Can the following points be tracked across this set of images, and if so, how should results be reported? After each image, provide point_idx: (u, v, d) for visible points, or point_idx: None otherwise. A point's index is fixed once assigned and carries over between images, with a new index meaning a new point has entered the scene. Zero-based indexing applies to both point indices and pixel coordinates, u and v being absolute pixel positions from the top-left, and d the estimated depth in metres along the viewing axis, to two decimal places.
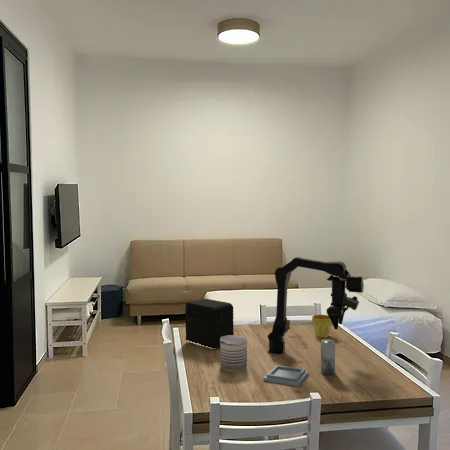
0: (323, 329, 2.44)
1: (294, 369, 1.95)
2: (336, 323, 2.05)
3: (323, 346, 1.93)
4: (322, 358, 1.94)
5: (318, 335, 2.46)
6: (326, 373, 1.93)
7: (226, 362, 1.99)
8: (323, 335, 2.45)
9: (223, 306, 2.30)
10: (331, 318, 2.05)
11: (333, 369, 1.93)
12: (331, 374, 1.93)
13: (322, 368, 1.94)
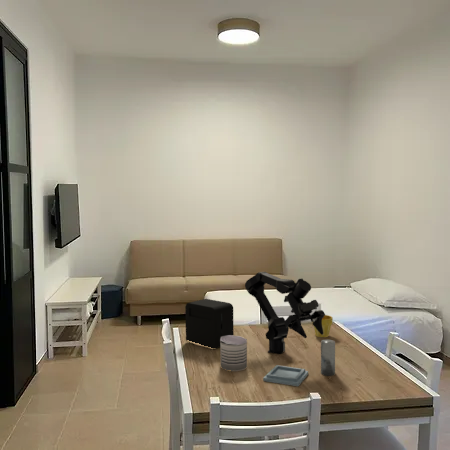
0: (323, 329, 2.44)
1: (294, 369, 1.95)
2: (301, 331, 1.99)
3: (323, 346, 1.93)
4: (322, 358, 1.94)
5: (318, 335, 2.46)
6: (326, 373, 1.93)
7: (226, 362, 1.99)
8: (323, 335, 2.45)
9: (223, 306, 2.30)
10: (295, 330, 2.02)
11: (333, 369, 1.93)
12: (331, 374, 1.93)
13: (322, 368, 1.94)
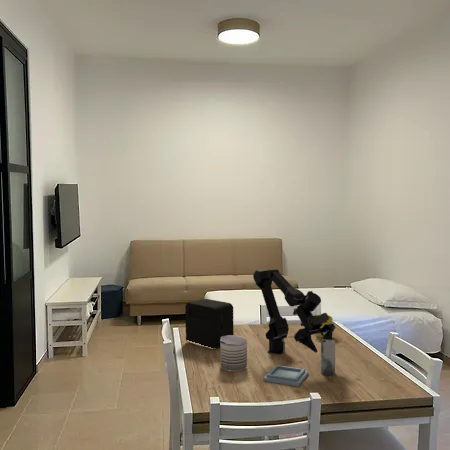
0: None
1: (294, 369, 1.95)
2: (311, 346, 1.94)
3: (323, 346, 1.93)
4: (322, 358, 1.94)
5: (318, 335, 2.46)
6: (326, 373, 1.93)
7: (226, 362, 1.99)
8: None
9: (223, 306, 2.30)
10: (305, 344, 1.96)
11: (333, 369, 1.93)
12: (331, 374, 1.93)
13: (322, 368, 1.94)
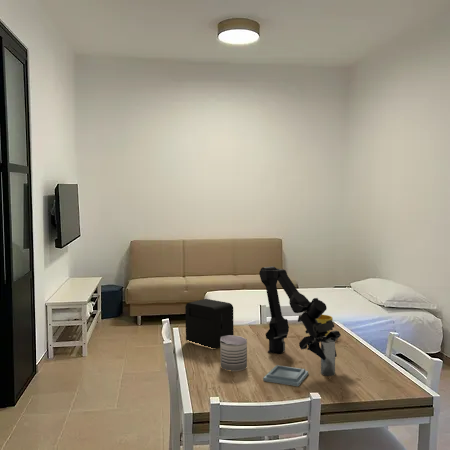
0: None
1: (294, 369, 1.95)
2: (320, 353, 1.93)
3: (323, 346, 1.93)
4: None
5: None
6: (326, 373, 1.93)
7: (226, 362, 1.99)
8: None
9: (223, 306, 2.30)
10: (313, 351, 1.95)
11: (333, 369, 1.93)
12: (331, 374, 1.93)
13: (322, 368, 1.94)
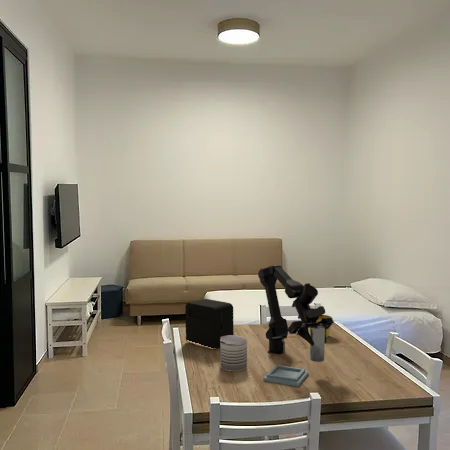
0: None
1: (294, 369, 1.95)
2: (308, 338, 1.91)
3: (312, 332, 1.91)
4: None
5: None
6: (314, 359, 1.90)
7: (226, 362, 1.99)
8: None
9: (223, 306, 2.30)
10: (303, 336, 1.93)
11: (322, 355, 1.90)
12: (319, 360, 1.90)
13: (311, 354, 1.92)
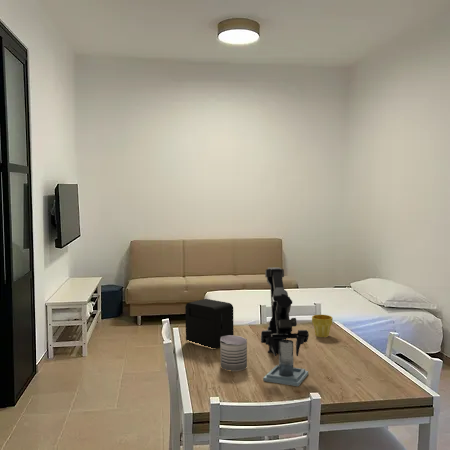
0: (323, 329, 2.44)
1: (294, 369, 1.95)
2: (272, 349, 1.91)
3: (279, 345, 1.90)
4: (279, 357, 1.91)
5: (318, 335, 2.46)
6: (280, 373, 1.90)
7: (226, 362, 1.99)
8: (323, 335, 2.45)
9: (223, 306, 2.30)
10: (270, 346, 1.94)
11: (288, 370, 1.88)
12: (285, 375, 1.89)
13: (279, 367, 1.91)
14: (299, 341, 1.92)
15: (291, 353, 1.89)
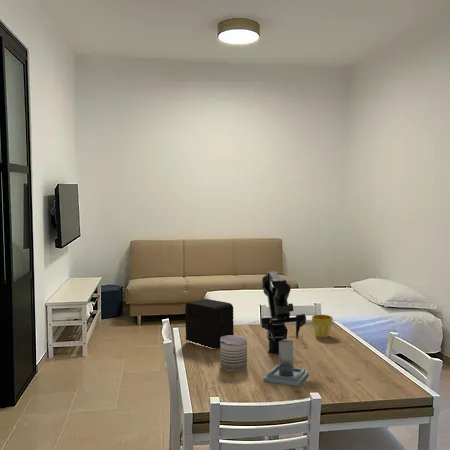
0: (323, 329, 2.44)
1: (294, 369, 1.95)
2: (271, 334, 2.01)
3: (279, 346, 1.90)
4: (279, 357, 1.91)
5: (318, 335, 2.46)
6: (280, 373, 1.90)
7: (226, 362, 1.99)
8: (323, 335, 2.45)
9: (223, 306, 2.30)
10: (269, 331, 2.04)
11: (288, 370, 1.88)
12: (285, 375, 1.89)
13: (279, 367, 1.91)
14: (298, 325, 2.01)
15: (291, 353, 1.89)
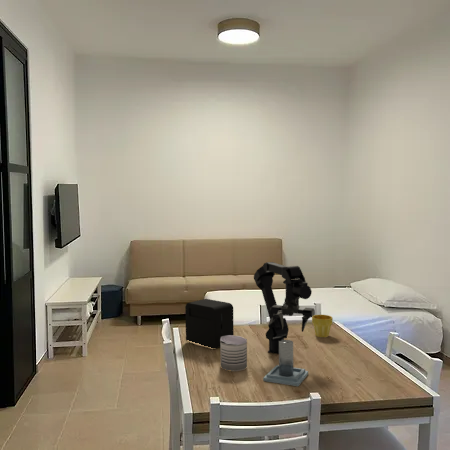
0: (323, 329, 2.44)
1: (294, 369, 1.95)
2: None
3: (279, 346, 1.90)
4: (279, 357, 1.91)
5: (318, 335, 2.46)
6: (280, 373, 1.90)
7: (226, 362, 1.99)
8: (323, 335, 2.45)
9: (223, 306, 2.30)
10: None
11: (288, 370, 1.88)
12: (285, 375, 1.89)
13: (279, 367, 1.91)
14: (304, 320, 2.07)
15: (291, 353, 1.89)
